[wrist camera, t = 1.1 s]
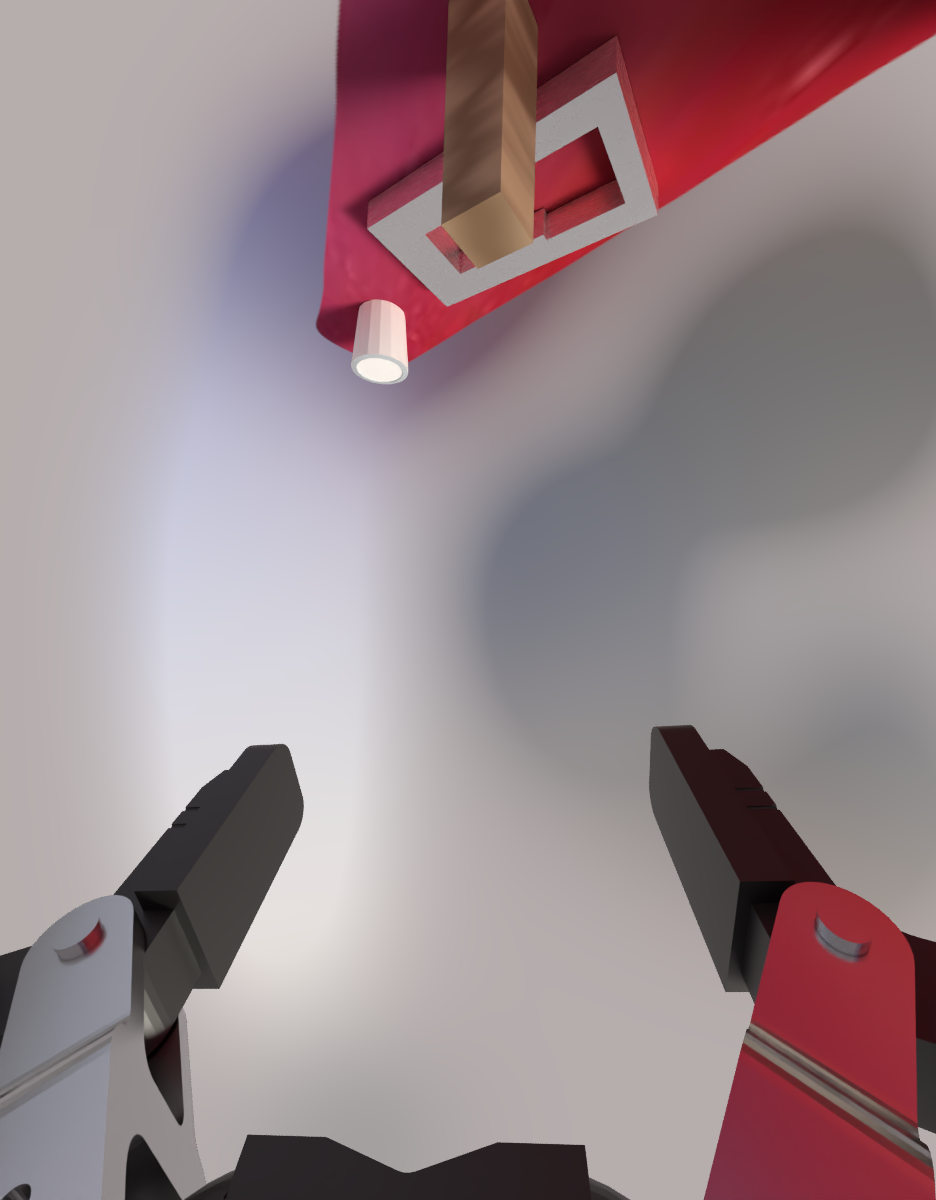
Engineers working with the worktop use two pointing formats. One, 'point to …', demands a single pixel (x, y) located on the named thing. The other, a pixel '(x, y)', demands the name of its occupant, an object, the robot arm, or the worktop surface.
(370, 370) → the white tapered cup
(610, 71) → the keyhole plate
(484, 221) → the walnut post
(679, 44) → the worktop surface
